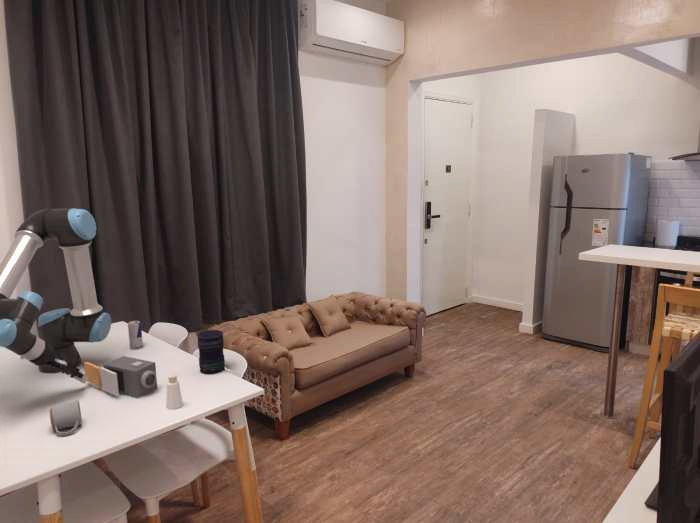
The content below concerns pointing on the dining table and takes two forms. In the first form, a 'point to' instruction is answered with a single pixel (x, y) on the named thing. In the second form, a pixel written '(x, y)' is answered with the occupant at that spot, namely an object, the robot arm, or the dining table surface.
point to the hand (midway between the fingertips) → (85, 379)
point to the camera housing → (133, 375)
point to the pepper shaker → (173, 393)
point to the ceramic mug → (66, 417)
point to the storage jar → (211, 352)
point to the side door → (102, 378)
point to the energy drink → (135, 335)
